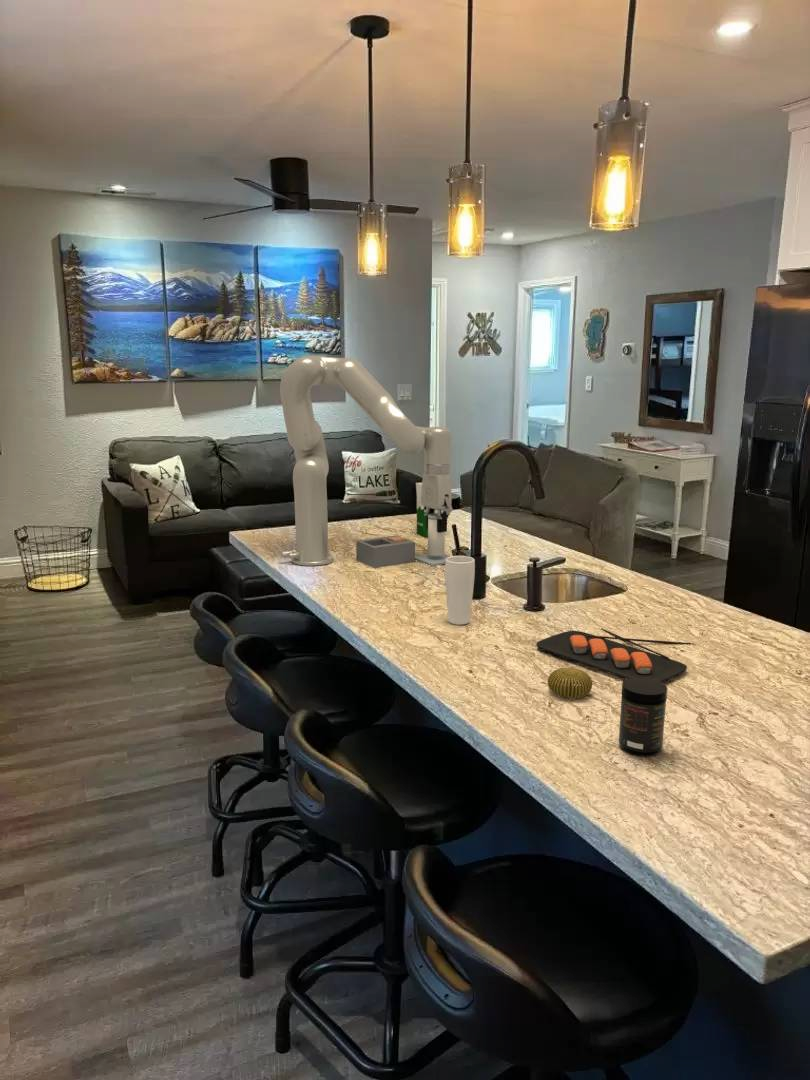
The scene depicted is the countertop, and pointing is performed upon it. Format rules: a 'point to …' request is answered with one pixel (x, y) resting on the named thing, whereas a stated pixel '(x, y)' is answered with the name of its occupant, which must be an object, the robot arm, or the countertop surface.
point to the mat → (432, 559)
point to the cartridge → (435, 537)
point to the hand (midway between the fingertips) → (436, 529)
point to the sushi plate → (614, 655)
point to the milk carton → (421, 514)
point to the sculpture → (569, 683)
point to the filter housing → (384, 552)
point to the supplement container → (642, 716)
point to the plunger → (396, 539)
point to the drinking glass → (459, 588)
